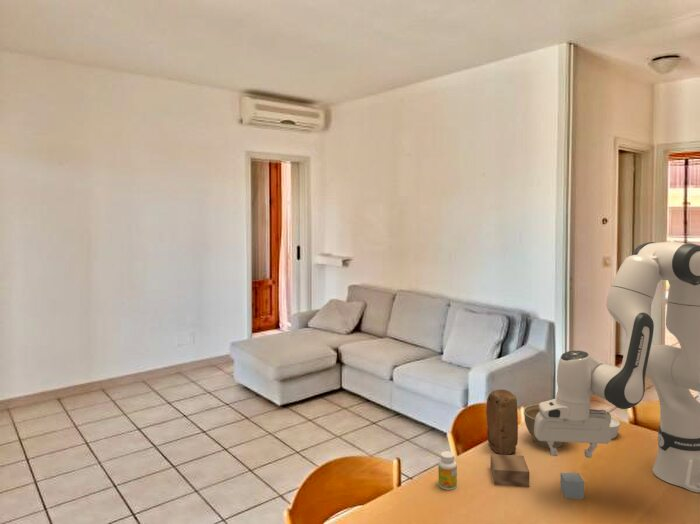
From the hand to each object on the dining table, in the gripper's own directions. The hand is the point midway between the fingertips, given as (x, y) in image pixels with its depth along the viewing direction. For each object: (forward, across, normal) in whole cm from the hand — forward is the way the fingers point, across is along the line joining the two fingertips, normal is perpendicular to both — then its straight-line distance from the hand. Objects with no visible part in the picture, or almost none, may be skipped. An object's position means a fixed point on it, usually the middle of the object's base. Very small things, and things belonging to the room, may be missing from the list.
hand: (570, 455), depth 146 cm
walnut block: (+12, +15, -8) cm, 21 cm away
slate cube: (+11, -1, 0) cm, 11 cm away
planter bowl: (+11, -3, -33) cm, 35 cm away
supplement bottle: (+12, +34, -2) cm, 36 cm away
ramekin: (+11, -24, -41) cm, 49 cm away
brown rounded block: (+12, +14, -27) cm, 33 cm away
